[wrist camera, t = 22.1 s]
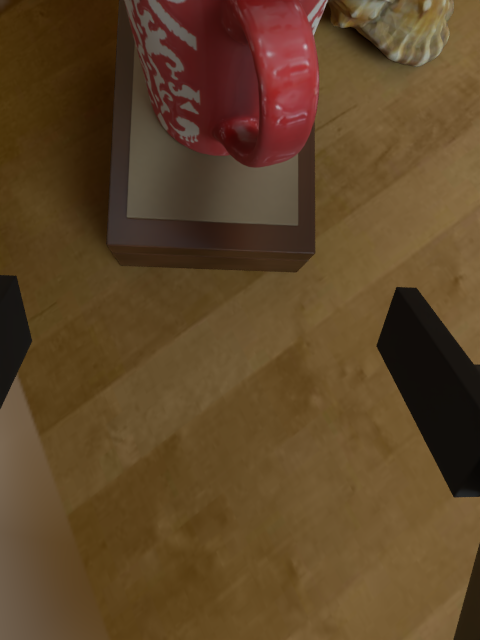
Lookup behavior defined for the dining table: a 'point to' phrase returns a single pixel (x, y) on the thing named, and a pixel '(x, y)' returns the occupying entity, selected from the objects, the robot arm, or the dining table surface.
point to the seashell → (398, 26)
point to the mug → (231, 73)
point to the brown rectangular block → (198, 192)
